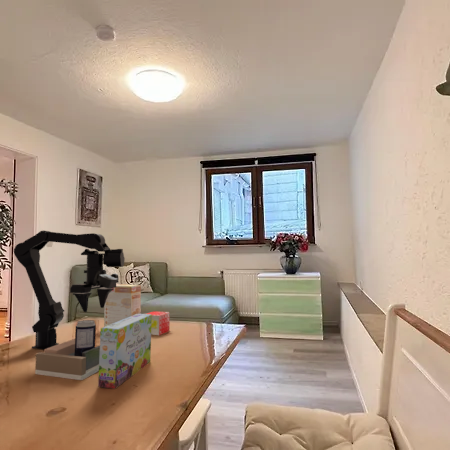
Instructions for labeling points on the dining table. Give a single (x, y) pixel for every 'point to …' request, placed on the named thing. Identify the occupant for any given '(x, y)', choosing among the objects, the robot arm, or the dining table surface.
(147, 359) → the snack box
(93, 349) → the grey flat plate
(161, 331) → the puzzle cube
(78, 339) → the beverage can
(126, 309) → the coffeecake box
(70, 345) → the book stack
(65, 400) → the dining table surface
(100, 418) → the dining table surface
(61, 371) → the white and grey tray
